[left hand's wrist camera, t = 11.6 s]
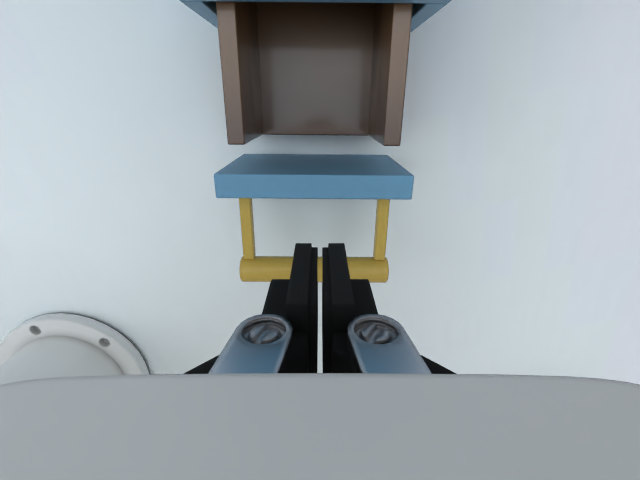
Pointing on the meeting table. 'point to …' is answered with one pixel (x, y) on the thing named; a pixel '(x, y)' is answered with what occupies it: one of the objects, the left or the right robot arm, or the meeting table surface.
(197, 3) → the cabinet
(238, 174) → the drawer
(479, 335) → the meeting table surface
